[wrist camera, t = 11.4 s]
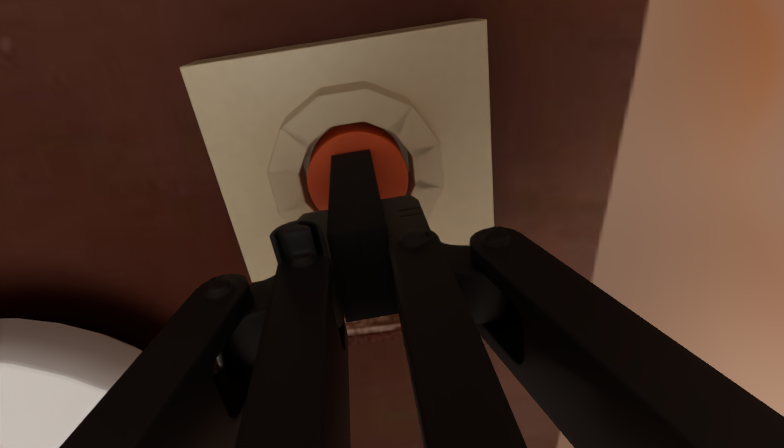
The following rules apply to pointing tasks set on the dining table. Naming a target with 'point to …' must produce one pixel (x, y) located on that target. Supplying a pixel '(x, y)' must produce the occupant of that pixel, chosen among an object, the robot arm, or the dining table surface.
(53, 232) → the dining table surface
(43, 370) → the bowl
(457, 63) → the button block
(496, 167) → the dining table surface
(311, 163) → the button
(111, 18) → the dining table surface
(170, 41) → the dining table surface
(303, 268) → the robot arm
